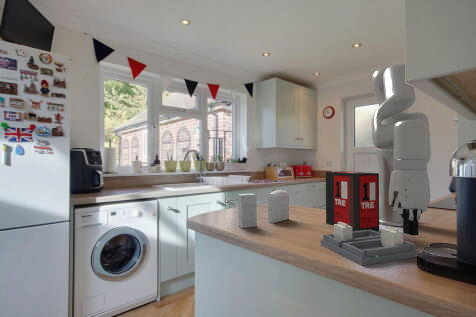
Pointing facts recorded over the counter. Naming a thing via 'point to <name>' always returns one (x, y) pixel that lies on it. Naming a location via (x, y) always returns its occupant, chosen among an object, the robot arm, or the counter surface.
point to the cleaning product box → (353, 199)
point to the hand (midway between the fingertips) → (410, 234)
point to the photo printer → (278, 206)
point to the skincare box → (247, 210)
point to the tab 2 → (391, 236)
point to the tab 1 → (342, 231)
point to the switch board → (368, 248)
